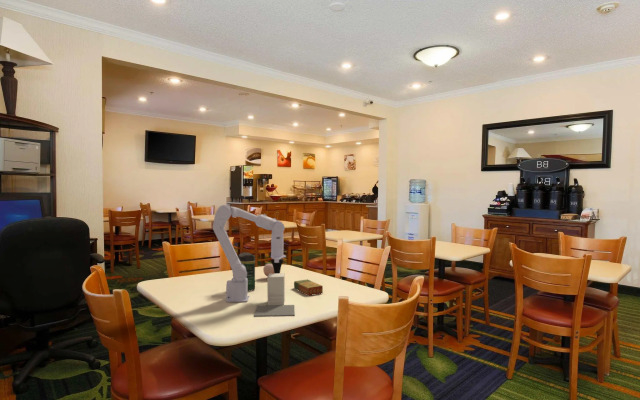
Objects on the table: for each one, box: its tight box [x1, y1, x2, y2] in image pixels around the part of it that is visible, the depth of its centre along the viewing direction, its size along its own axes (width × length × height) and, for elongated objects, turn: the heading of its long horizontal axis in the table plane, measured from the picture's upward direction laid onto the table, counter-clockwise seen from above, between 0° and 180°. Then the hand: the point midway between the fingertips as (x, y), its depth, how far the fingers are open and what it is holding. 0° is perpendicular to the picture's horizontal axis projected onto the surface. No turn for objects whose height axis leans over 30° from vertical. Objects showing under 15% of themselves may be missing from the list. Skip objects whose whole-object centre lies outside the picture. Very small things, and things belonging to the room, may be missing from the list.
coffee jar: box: [237, 252, 256, 292], centre depth 183 cm, size 10×8×19 cm
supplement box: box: [266, 272, 286, 305], centre depth 161 cm, size 7×7×13 cm
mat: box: [253, 304, 296, 317], centre depth 150 cm, size 16×13×1 cm
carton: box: [293, 279, 324, 296], centre depth 182 cm, size 8×16×4 cm, turn 29°
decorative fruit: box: [263, 261, 274, 278], centre depth 207 cm, size 9×8×10 cm
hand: (277, 275), depth 170 cm, fingers closed
